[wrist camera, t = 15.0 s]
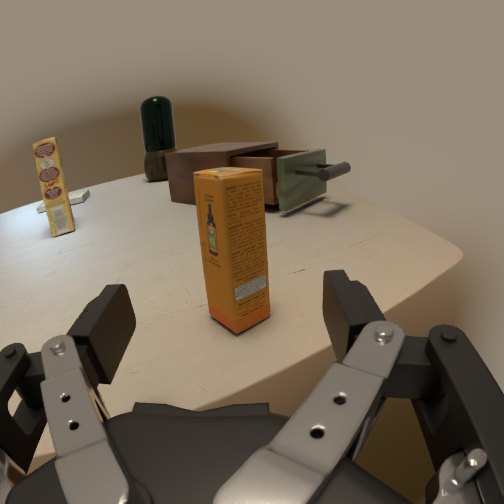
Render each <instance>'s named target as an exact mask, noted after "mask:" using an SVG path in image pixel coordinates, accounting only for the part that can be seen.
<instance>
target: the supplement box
mask: <svg viewBox="0 0 504 504" xmlns="http://www.w3.org/2000/svg"><path fill="white" fill-rule="evenodd" d="M262 172H263V170H262V169H251V168H237V167H221V168H214V169H207V170H202V171H197V172H194V173H193V174H194V187H195V197H196V207H197V217H198V226H199V235H200V245H201V253H202V261H203V270H204V277H205V285H206V292H207V298H208V306H209V313H210V315H211V316H212V317H213V318H215V319H216V320H218V321H219V322H221V323H222V324H224V325H225V326H226V327H228V328H229V329H231V330H232V331H233V332H234V333H236V334H238V333H240V332H242V331H244V330H246V329H248V328H250V327H251V326H253V325H255V324H257V323H259V322H260V321H262V320H264V319H265V318H267V317H269V316H270V303H269V282H268V261H267V245H266V224H265V208H264V191H263V174H262Z"/></svg>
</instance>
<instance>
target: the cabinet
mask: <svg viewBox="0 0 504 504" xmlns="http://www.w3.org/2000/svg"><path fill="white" fill-rule="evenodd" d="M262 149H278V142H238V143H215V144H210V145H204V146H199V147H194V148H189V149H184V150H179V151H174V152H169V153H165V159H166V167H167V174H168V181H169V188H170V195H171V201H174V202H181V203H188V204H195V205H196V197H195V187H194V174H193V173H194V172H197V171H202V170H207V169H214V168H221V167H231V160H230V156H232V155H237V154H242V153H247V152H252V151H257V150H262Z"/></svg>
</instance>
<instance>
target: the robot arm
mask: <svg viewBox="0 0 504 504" xmlns="http://www.w3.org/2000/svg"><path fill="white" fill-rule="evenodd" d="M323 317H324V321H325V324H326V327H327V330H328V334H329V337H330V340H331V343H332V346H333V349H334V352H335V355H336V359H337V361H335V362H334V363H332V365H331V366H330V367H329V369H328V370H327V371H326V373H325V374H324V375H323V377H322V378H321V379H320V381H319V382H318V383H317V385H316V386H315V387H314V389H313V390H312V392H311V393H310V394H309V395H308V397H307V398H306V399H305V401H304V402H303V403H302V405H301V406H300V407H299V408H298V410H297V411H296V412H295V413H294V415H293V416H292V417H288V416H285V415H281V414H277V413H271V412H269V403H256V404H233V405H229V406H224V407H220V408H216V409H210V410H205V411H199V412H196V411H191V410H187V409H183V408H179V407H175V406H171V405H167V404H154V403H138V402H135V404H134V407H133V410H132V412H128V413H123V414H120V415H117V416H115V417H112V418H111V417H110V414H109V412H108V410H107V408H106V406H105V403H104V401H103V399H102V396H101V394H100V392H99V390H98V388H97V387H98V384H99V383H100V384H111V382H112V380H113V378H114V375H115V373H116V371H117V368H118V366H119V364H120V362H121V359H122V357H123V355H124V353H125V350H126V348H127V346H128V344H129V342H130V339H131V337H132V335H133V333H134V331H135V328H136V318H135V314H134V310H133V307H132V304H131V300H130V297H129V294H128V290H127V288H126V286H125V285H124V284H114V285H106V287H105V288H104V289H103V291H102V292H101V293H100V295H99V296H98V297H96V298H95V299H93V300H92V301H91V302H89V303H88V304H87V306H86V307H85V308H84V310H83V312H82V313H81V314H80V315H79V318H77V320H76V321H75V322H74V324H73V325H72V327H71V328H70V330H69V331H68V332H67V334H66V335H60V336H56V337H53V338H52V339H50V340H48V341H47V342H46V343H45V344H44V345H43V347H42V349H41V352H36V353H30V354H28V352H27V350H26V348H25V347H24V345H23V344H21V343H14V344H11V345H8V346H7V347H5V348H4V349H2V350H1V352H0V504H413V503H412V502H411V501H410V500H408V499H407V498H405V497H404V496H402V495H401V494H399V493H397V492H396V491H395V490H393V489H392V488H390V487H388V486H387V485H386V484H384V483H383V482H381V481H380V480H378V479H377V478H375V477H374V476H373V475H371V474H370V473H368V472H367V471H365V470H364V469H363V468H361V467H360V466H359V465H357V464H356V463H355V461H356V460H357V458H358V456H359V454H360V452H361V450H362V448H363V446H364V444H365V442H366V440H367V438H368V435H369V434H370V432H371V430H372V428H373V426H374V424H375V422H376V420H377V418H378V416H379V414H380V412H381V410H382V408H383V406H384V404H385V402H386V400H387V398H388V397H393V398H410V399H411V402H412V404H413V407H414V410H415V413H416V415H417V418H418V421H419V424H420V427H421V429H422V432H423V435H424V438H425V441H426V444H427V447H428V450H429V453H430V456H431V459H432V463H433V466H434V469H435V472H436V473H435V474H434V475H433V477H432V478H431V479H430V480H429V482H428V484H427V486H426V489H425V497H426V501H425V504H504V394H503V392H502V391H501V389H500V387H499V386H498V384H497V382H496V381H495V379H494V378H493V376H492V374H491V372H490V371H489V369H488V368H487V366H486V365H485V363H484V362H483V360H482V358H481V357H480V355H479V354H478V352H477V351H476V349H475V348H474V346H473V345H472V343H471V342H470V341H469V339H468V338H467V336H466V335H465V333H464V332H463V331H462V330H460V329H459V328H457V327H454V326H451V325H438V326H435V327H433V328H432V329H431V330H430V332H429V335H428V337H411V336H406V335H405V333H404V331H403V329H402V328H401V327H400V326H398V325H396V324H394V323H392V322H389V321H386V319H385V317H384V316H383V314H382V312H381V310H380V309H379V307H378V305H377V304H376V302H375V300H374V299H373V297H372V296H371V294H370V292H369V290H368V289H367V287H366V286H365V285H363V284H362V283H360V282H359V281H350V280H349V278H348V276H347V275H346V273H345V271H344V270H343V269H342V270H331V271H325V272H324V279H323ZM14 390H16V391H17V393H18V394H19V396H20V397H21V399H22V400H21V402H20V404H19V406H18V408H17V410H16V412H15V414H14V416H13V417H12V416H11V415H10V413H9V411H8V401H9V399H10V397H11V396H12V394H13V392H14ZM47 421H48V425H49V429H50V433H51V437H52V441H53V445H54V449H55V452H56V456H55V457H54V458H52V459H51V460H50V461H48V462H46V463H45V464H44V465H42V466H41V467H39V468H38V469H36V470H35V471H34V472H32V473H30V474H29V475H27V472H28V469H29V466H30V464H31V461H32V458H33V456H34V453H35V450H36V448H37V445H38V443H39V440H40V438H41V435H42V433H43V430H44V428H45V426H46V423H47ZM26 475H27V476H26Z"/></svg>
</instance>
